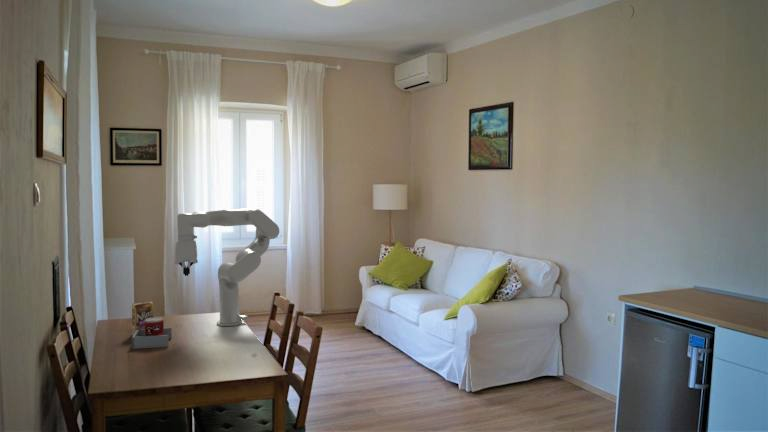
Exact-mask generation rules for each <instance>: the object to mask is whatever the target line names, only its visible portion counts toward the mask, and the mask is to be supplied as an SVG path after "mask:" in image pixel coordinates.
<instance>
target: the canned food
mask: <svg viewBox="0 0 768 432" xmlns="http://www.w3.org/2000/svg"><path fill="white" fill-rule="evenodd" d="M164 324H165V323H164V318H163V317H159V316H158V317H153V318H148V319H146V320H145V336H157V335H164V328H165V327H164Z"/></svg>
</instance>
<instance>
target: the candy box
mask: <svg viewBox="0 0 768 432" xmlns="http://www.w3.org/2000/svg"><path fill="white" fill-rule="evenodd" d="M148 318H154V302H153V301H144V302H138V303H137V302H136V303H135V302H134V303H132V304H131V335H132V336H133V335H134V333H135V332H136V330H137V329H145V320H146V319H148Z"/></svg>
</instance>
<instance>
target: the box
mask: <svg viewBox="0 0 768 432" xmlns="http://www.w3.org/2000/svg"><path fill="white" fill-rule="evenodd" d="M172 333H173V331H172V327H164V335H157V336H145V329H137V330H136V332H135V333H134V335H132V336H131V349H132V350H133V349H134V350H135V349H136V350H137V349H148V348H149V349H150V348H166V347H169V345H170V344H169V340H170V339H171V340H172V338H173V337H172V336H173V334H172Z"/></svg>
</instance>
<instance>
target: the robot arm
mask: <svg viewBox="0 0 768 432" xmlns="http://www.w3.org/2000/svg"><path fill="white" fill-rule="evenodd" d="M176 217H177V219H176V221H177V222H176V223H177V240H176V242H175V248H174V249H175V250H174V259H175V260H174V264H175V265H179V266H181V267H182V272H183V275H184V276H185V277H186V276H187V277H189V275H190V274H191V270H190V269H191V267H192V266H193V265H194V264H195V265H196V264H198V248H197V247H198V246H197V242H196V240H195V239H197V238H198V236H197V235H195V231H194V230H195V229H194V228H203V229H204V228H207V227H210V226H221V227H234V226H235V227H236V226H237V227H238V226H254V227H255V237H254V239H253V240H252V241H251V243H249V244H248V245H247V246H246V247H244V249H243V248H242V250H241V251H239V252H238V253H237V254H236V257H235V263H234V262H228V261H227V262H223V263H222V264H221V265H219V267H218V270H217V279H218V285H219V286H218V288H219V320H217V321H216V325H218V326H221V327H234V326H239V325H241V324H243V320H246V321H247V320H248V321H249V315H240V314H241V313H240V312H239V311H240V308H239V307H240V305H239V303H240V301H239V300H240V299H239V298H240V297H239V295H240V294H239V283H240V282H243V281H244V280H245V279H246V278H248V277H249V276H251V274H252V273H254V272H255V271H256V270H257V269H258V268H259V266H260V265H261V264H262V263H261V262H262V256H263V255H264V254H265V253H266V252H267V250H268V248H269V246H270V240H274V239H276V238H277V237H278V236H279V235H280V227H279V226H278V224H277V223H275V221H274V220H272V218H270V217H269V216H268V215H266V213H264V212H263V211H262V210H260V209H258V208H235V209H221V210H219V209H218V210H207V211H206V210H205V211H204V210H202V211H194V212H192V213H191V212H181V213H178V214H177V216H176ZM186 262H187V266H186ZM241 319H242V320H241Z"/></svg>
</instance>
